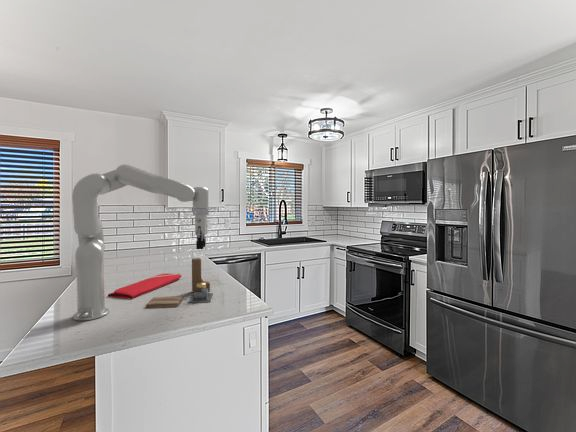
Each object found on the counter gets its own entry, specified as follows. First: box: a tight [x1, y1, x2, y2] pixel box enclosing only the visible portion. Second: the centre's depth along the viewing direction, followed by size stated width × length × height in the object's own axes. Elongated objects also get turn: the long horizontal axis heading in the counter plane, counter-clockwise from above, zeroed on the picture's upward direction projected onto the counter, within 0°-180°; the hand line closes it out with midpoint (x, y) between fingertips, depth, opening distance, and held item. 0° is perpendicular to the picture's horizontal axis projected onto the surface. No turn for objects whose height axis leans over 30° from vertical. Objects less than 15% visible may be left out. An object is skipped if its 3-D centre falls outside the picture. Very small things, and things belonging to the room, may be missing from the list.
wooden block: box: [191, 257, 211, 294], centre depth 158 cm, size 9×4×18 cm, turn 113°
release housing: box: [188, 288, 214, 304], centre depth 146 cm, size 12×10×4 cm
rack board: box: [145, 295, 184, 309], centre depth 139 cm, size 11×14×2 cm
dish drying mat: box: [107, 273, 182, 300], centre depth 166 cm, size 16×41×4 cm, turn 165°
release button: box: [197, 282, 206, 289], centre depth 145 cm, size 4×4×2 cm
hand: (201, 247), depth 145 cm, fingers open, 6 cm apart
